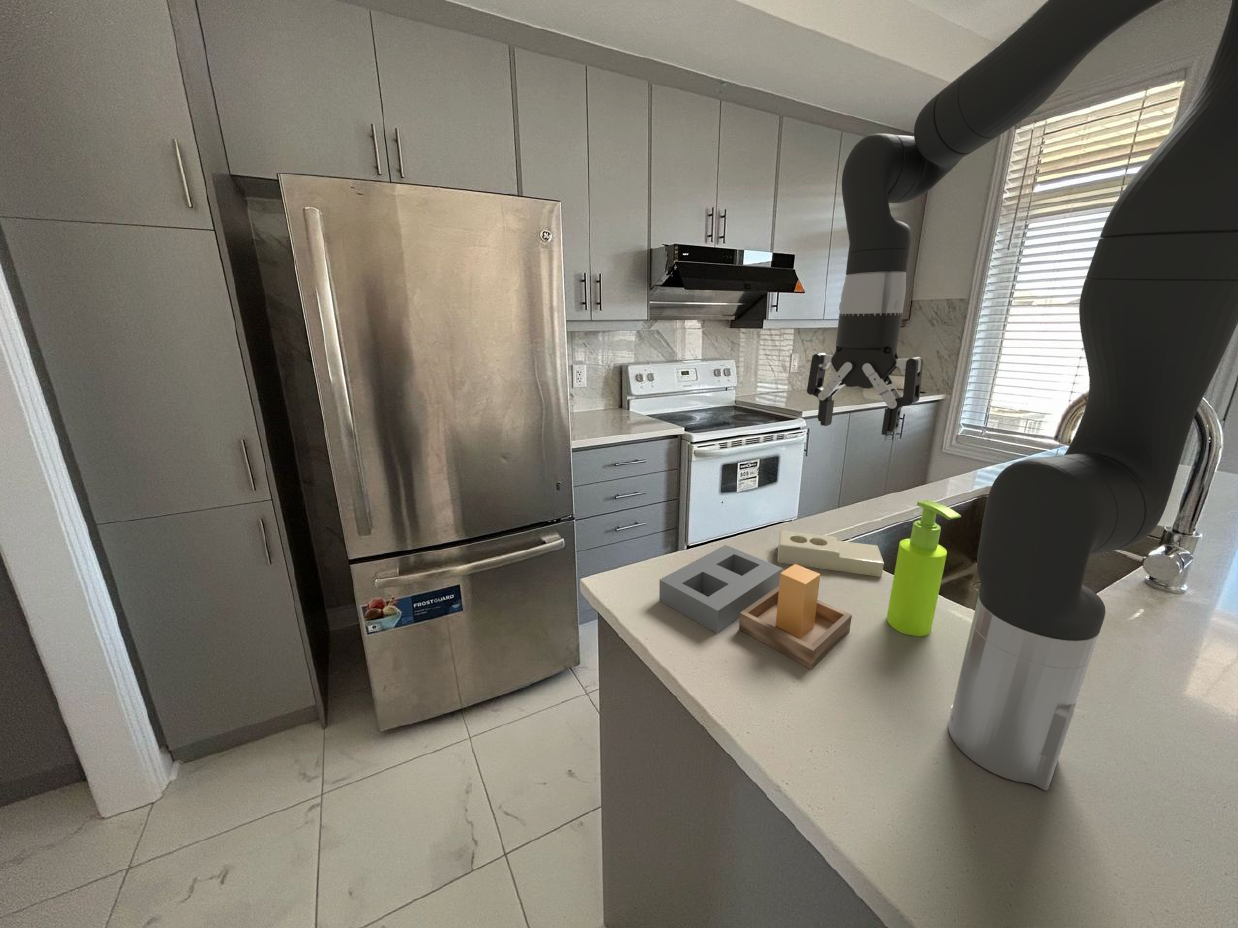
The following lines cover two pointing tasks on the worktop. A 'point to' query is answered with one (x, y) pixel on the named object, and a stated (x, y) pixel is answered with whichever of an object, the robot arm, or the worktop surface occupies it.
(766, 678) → the worktop surface
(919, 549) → the soap dispenser
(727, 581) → the cinder block
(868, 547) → the electrical outlet
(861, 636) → the worktop surface
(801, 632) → the plug
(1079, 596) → the robot arm
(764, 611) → the tray
